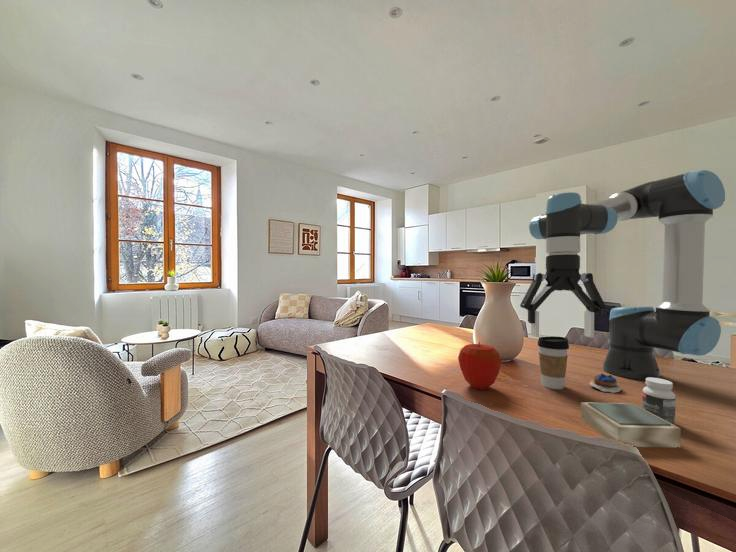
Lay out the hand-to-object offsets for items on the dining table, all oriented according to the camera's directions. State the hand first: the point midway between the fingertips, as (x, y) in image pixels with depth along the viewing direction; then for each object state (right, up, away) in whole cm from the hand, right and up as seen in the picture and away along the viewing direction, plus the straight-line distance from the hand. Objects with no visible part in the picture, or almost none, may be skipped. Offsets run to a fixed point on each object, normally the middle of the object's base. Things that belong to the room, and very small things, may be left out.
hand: (561, 336), depth 81 cm
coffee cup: (+7, -19, +16) cm, 25 cm away
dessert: (+21, -19, +15) cm, 32 cm away
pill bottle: (+18, -19, -8) cm, 27 cm away
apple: (-16, -19, +15) cm, 29 cm away
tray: (+7, -19, -12) cm, 23 cm away
